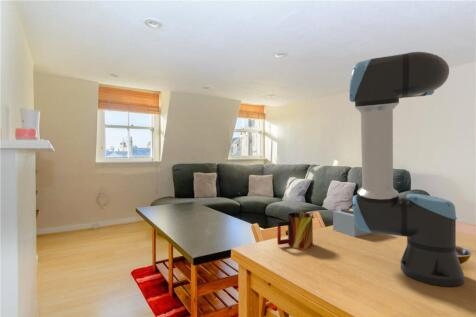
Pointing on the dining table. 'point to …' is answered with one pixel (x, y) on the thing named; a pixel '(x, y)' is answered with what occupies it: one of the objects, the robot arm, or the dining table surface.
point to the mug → (297, 230)
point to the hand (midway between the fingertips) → (381, 168)
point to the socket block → (346, 223)
